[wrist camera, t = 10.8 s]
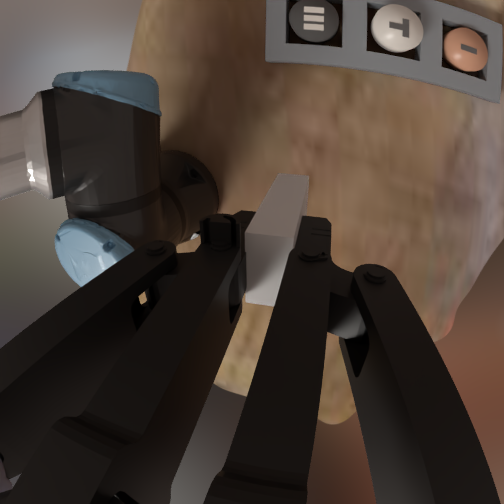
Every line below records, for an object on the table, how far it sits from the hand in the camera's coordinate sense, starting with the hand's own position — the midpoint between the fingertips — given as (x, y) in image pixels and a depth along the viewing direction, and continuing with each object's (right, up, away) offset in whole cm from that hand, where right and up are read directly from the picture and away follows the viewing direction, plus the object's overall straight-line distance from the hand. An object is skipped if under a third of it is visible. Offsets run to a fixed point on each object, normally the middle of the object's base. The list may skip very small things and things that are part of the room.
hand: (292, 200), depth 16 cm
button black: (+6, +27, +17) cm, 32 cm away
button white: (+15, +25, +13) cm, 32 cm away
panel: (+16, +26, +15) cm, 34 cm away
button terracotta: (+26, +24, +13) cm, 38 cm away
